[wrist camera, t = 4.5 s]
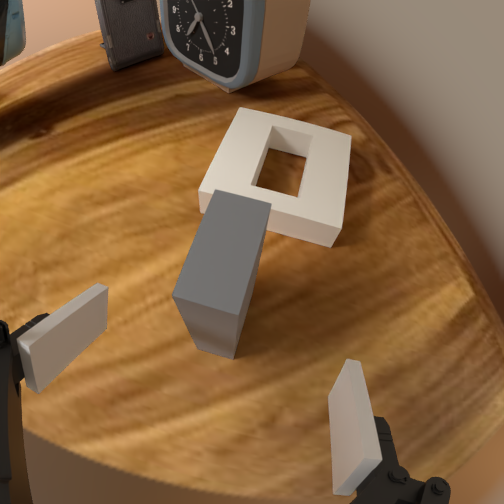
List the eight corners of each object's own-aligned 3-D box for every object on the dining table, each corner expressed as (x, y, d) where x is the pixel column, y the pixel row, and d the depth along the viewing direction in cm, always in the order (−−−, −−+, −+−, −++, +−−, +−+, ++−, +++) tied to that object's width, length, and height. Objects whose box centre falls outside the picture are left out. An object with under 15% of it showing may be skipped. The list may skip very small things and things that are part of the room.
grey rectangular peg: (197, 349, 25) (171, 295, 14) (219, 283, 28) (215, 188, 16) (233, 359, 25) (238, 315, 13) (252, 293, 28) (271, 203, 16)
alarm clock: (163, 59, 45) (155, -56, 26) (208, 43, 48) (210, -63, 29) (244, 110, 39) (258, -47, 20) (293, 89, 42) (319, -46, 23)
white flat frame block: (200, 212, 31) (198, 190, 28) (238, 129, 37) (239, 107, 34) (330, 247, 30) (341, 228, 27) (343, 156, 36) (351, 135, 33)
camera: (143, 46, 54) (128, -34, 39) (168, 55, 44) (150, -49, 29) (95, 64, 51) (74, -18, 36) (106, 77, 41) (80, -30, 26)
